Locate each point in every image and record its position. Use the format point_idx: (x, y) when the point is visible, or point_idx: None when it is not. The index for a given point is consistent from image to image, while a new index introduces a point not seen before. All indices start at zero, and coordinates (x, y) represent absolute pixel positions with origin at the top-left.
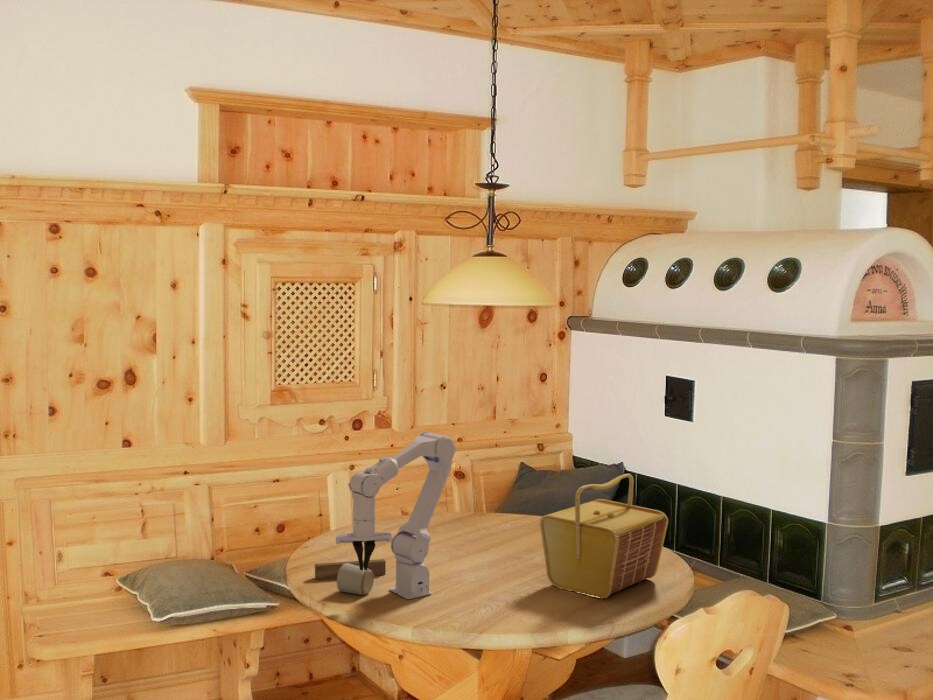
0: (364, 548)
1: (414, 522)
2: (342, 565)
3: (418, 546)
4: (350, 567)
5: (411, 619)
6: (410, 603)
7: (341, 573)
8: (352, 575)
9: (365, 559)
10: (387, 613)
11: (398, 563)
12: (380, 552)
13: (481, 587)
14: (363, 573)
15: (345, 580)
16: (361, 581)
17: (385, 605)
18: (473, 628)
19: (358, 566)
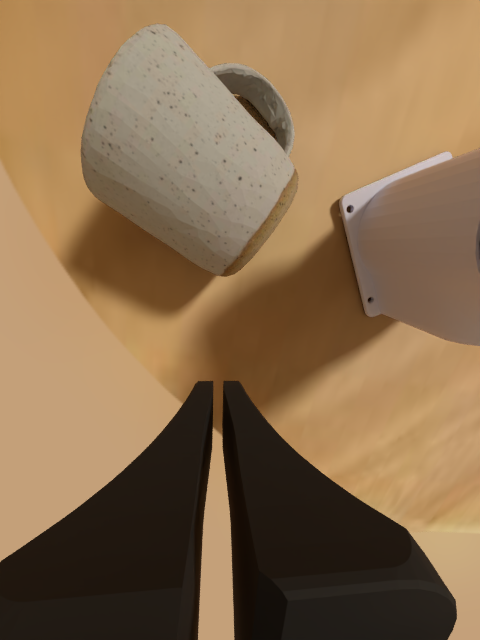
0: (241, 502)
1: None
2: (90, 116)
3: None
4: (155, 169)
5: (324, 451)
6: (362, 343)
7: (105, 193)
8: (173, 237)
9: (229, 499)
10: (276, 408)
11: (470, 258)
12: None
13: None
14: (235, 254)
15: (142, 228)
16: (220, 275)
17: (285, 349)
18: (430, 503)
19: (214, 159)
